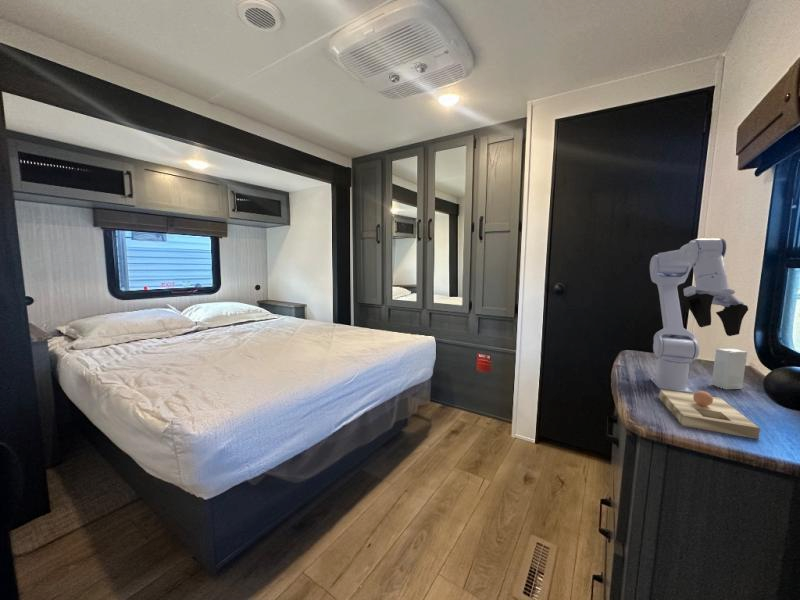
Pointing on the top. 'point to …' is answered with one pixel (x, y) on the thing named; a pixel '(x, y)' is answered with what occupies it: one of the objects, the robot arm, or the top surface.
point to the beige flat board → (708, 414)
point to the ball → (703, 398)
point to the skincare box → (729, 368)
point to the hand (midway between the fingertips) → (719, 330)
